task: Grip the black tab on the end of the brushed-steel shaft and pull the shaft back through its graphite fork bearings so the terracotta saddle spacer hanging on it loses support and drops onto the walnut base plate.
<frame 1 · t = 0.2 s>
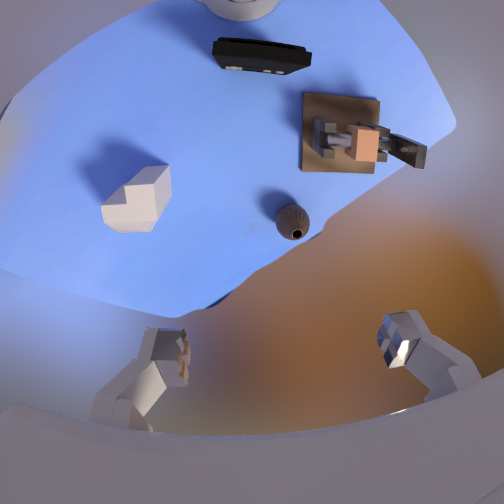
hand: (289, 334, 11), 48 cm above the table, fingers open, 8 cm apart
handheld gaming console: (254, 62, 43), on the table
shaft stand: (340, 133, 51), on the table
corner bracket: (147, 191, 56), on the table
spacer: (355, 139, 46), point 6 cm above the table, touching shaft
vase: (289, 214, 60), on the table
shaft: (374, 145, 42), point 11 cm above the table, slide at 0.0 cm, touching spacer
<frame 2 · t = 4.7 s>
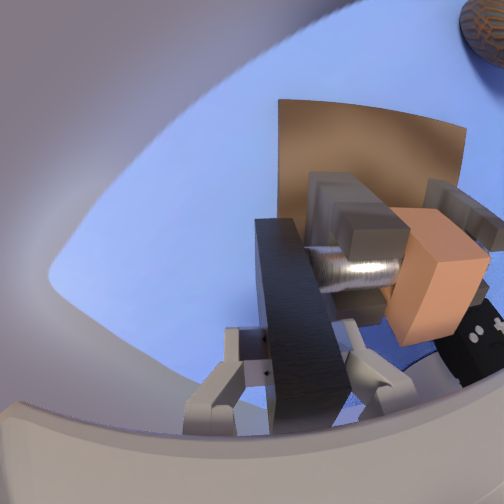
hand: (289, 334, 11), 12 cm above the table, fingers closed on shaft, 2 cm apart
handheld gaming console: (456, 307, 29), on the table
shaft stand: (374, 206, 21), on the table
spacer: (402, 247, 16), point 6 cm above the table, touching shaft
vase: (473, 32, 12), on the table
shaft: (418, 300, 12), point 11 cm above the table, slide at 0.0 cm, touching gripper, spacer
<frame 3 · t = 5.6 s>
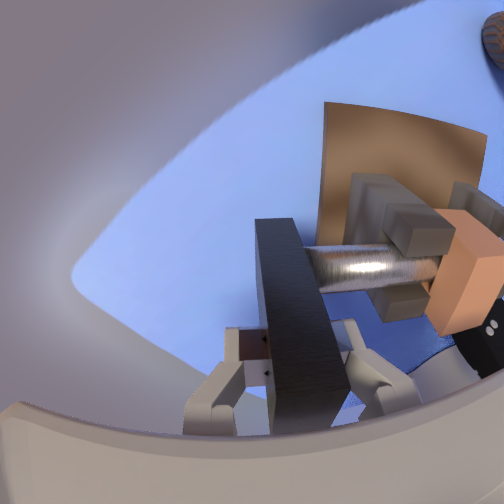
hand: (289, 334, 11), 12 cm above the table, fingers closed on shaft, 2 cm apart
handheld gaming console: (470, 303, 29), on the table
shaft stand: (405, 207, 21), on the table
spacer: (435, 245, 16), point 6 cm above the table, touching shaft, shaft stand
vase: (492, 44, 12), on the table
shaft: (417, 299, 12), point 11 cm above the table, slide at 3.2 cm, touching gripper, spacer
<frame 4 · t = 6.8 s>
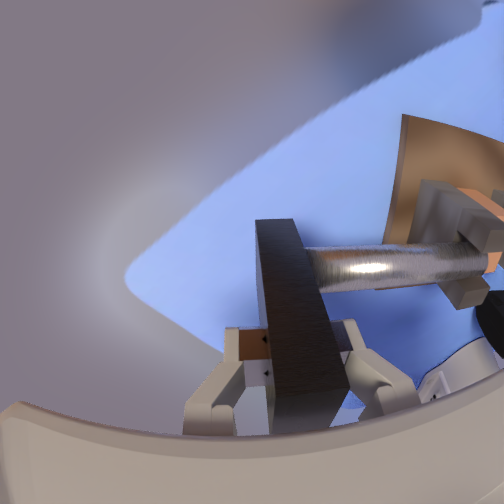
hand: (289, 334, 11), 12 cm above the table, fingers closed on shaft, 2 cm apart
handheld gaming console: (494, 298, 30), on the table
shaft stand: (454, 210, 22), on the table
spacer: (457, 215, 21), point 1 cm above the table, touching shaft stand
shaft: (416, 300, 12), point 11 cm above the table, slide at 9.5 cm, touching gripper
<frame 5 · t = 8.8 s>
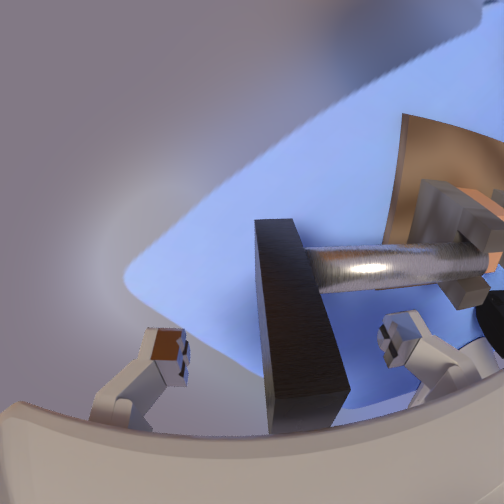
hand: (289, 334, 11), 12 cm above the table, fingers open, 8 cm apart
handheld gaming console: (494, 298, 30), on the table
shaft stand: (454, 210, 21), on the table
spacer: (457, 215, 21), point 1 cm above the table, touching shaft stand
shaft: (417, 301, 12), point 11 cm above the table, slide at 9.5 cm
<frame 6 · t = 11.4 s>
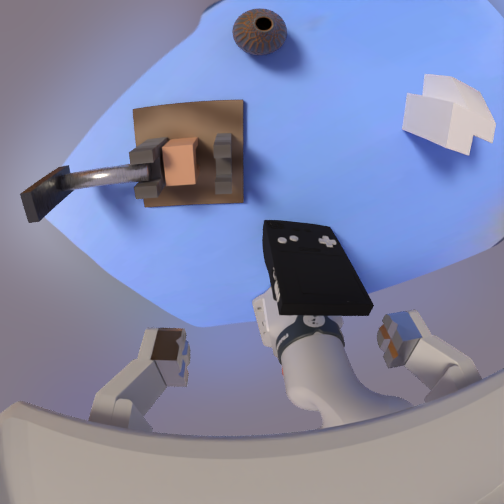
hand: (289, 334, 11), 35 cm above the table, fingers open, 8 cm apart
handheld gaming console: (295, 230, 49), on the table
shaft stand: (189, 153, 40), on the table
corner bracket: (428, 106, 36), on the table
spacer: (185, 155, 39), point 1 cm above the table, touching shaft stand
vase: (257, 36, 31), on the table
shaft: (87, 185, 30), point 11 cm above the table, slide at 9.5 cm
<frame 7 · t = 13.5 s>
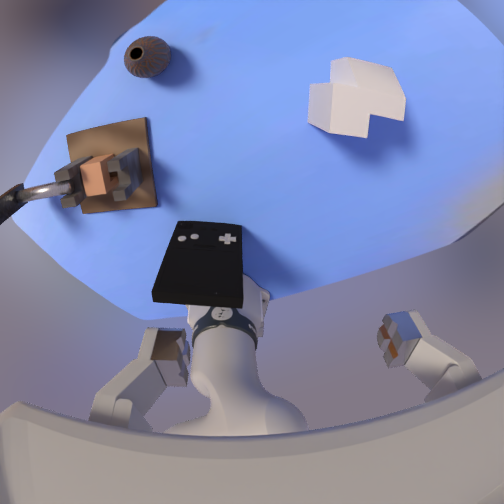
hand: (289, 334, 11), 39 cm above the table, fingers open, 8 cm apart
handheld gaming console: (209, 230, 52), on the table
shaft stand: (110, 167, 44), on the table
corner bracket: (340, 94, 39), on the table
spacer: (106, 169, 43), point 1 cm above the table, touching shaft stand
vase: (154, 59, 35), on the table
shaft: (29, 199, 34), point 11 cm above the table, slide at 9.5 cm
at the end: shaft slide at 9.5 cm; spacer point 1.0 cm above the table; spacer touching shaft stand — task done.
